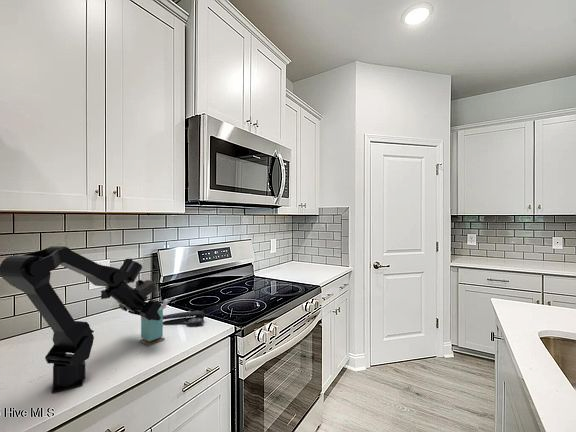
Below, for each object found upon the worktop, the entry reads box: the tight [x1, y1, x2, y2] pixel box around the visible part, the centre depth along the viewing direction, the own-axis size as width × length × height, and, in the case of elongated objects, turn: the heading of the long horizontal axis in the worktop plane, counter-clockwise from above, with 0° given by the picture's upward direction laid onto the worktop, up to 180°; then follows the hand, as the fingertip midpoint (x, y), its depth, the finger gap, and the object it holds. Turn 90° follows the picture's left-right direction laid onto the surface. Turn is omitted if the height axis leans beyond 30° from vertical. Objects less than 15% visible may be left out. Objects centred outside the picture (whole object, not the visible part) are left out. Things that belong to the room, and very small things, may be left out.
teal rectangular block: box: [140, 308, 164, 341], centre depth 105 cm, size 5×5×10 cm
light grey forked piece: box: [160, 298, 170, 310], centre depth 130 cm, size 7×2×8 cm, turn 80°
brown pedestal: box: [138, 336, 165, 347], centre depth 105 cm, size 6×6×5 cm
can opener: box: [163, 310, 206, 327], centre depth 121 cm, size 18×7×6 cm, turn 91°
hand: (155, 317), depth 106 cm, fingers closed on teal rectangular block, 5 cm apart
